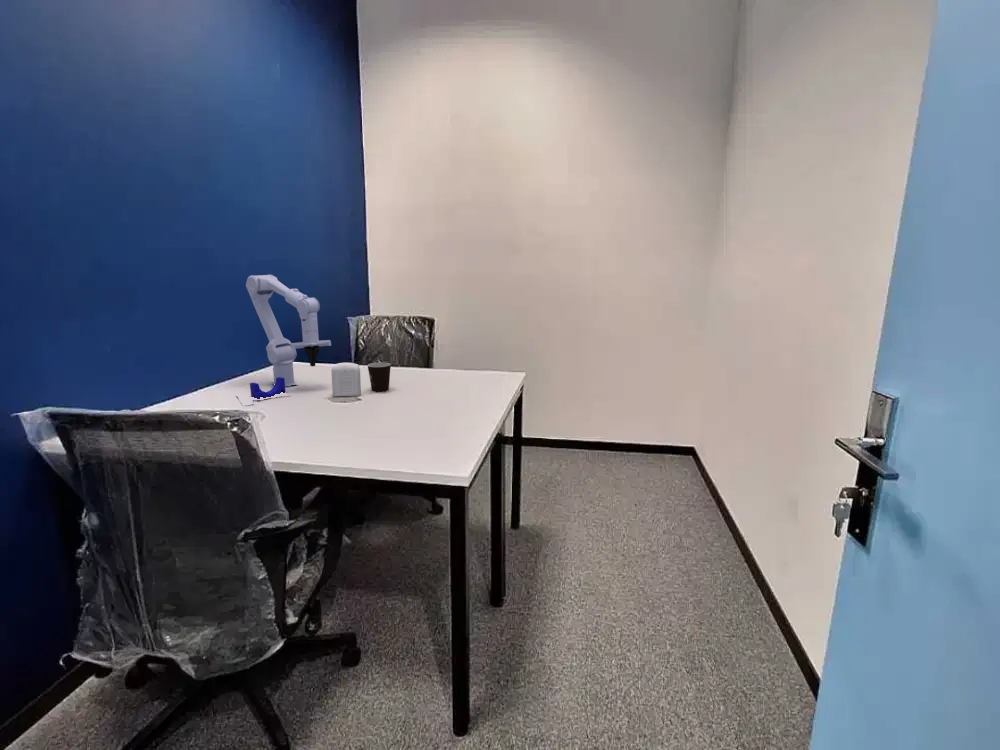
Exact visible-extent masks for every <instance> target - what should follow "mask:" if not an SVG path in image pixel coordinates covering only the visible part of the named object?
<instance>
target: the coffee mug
mask: <svg viewBox="0 0 1000 750" xmlns="http://www.w3.org/2000/svg"><path fill="white" fill-rule="evenodd" d="M391 364H392V363H389V362H373V363H368V364H367V371H368V375H369V376H368V377H369V382H370V388H371V391H372V393H385V392H388V391H389V390H390V382H391V381H390V380H391V379H390V377H391Z"/></svg>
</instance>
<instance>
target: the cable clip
mask: <svg viewBox="0 0 1000 750" xmlns="http://www.w3.org/2000/svg"><path fill="white" fill-rule="evenodd" d="M249 388H250V390H249V391H250V397H254V398H257V399H260V397H263V398H266V397H271V396H274V395H275V394H280V393H281V392H283V393H285V392H286V387H285V379H284V378H282V377H277V378H276V383H275V385H273V387H272V388H271V389H270V390H267V391H264V390H262V389H261V387H260V385H259V383H258V382H250V383H249ZM286 393H287V392H286Z"/></svg>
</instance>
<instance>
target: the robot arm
mask: <svg viewBox="0 0 1000 750" xmlns="http://www.w3.org/2000/svg"><path fill="white" fill-rule="evenodd" d="M245 287H246V290H247V292H248V294H249V296H250V297H249V298H250V300H251V301H252V304H253V307H254V308H255V311H256V314H257V315H258V318H259V320H260V323H261V325H262V327H263V329H264V332H265V334H266V337H267V339H268V344H267V345H266V346H265V350H266V353H267V359H268V361H269V363H271V365H272V371H273V372H272V374H273V381H272V382H271V384H272V383H274V384H275V383H276V378H277V377H282V378H284V379H285V386H288V387H292V386H291V385H296V386H298V384H297V383H296V381H295V375H294V362H295V360H296V358H297V354H298V353H297V350H296V349H302V350H303V352H305V354H306V357H307V358H308V361H309V364H310V365H309V366H310V367H316V364H317V363H316V362H317V359H318V354H319V352H320V350H321V349H320V348H321V347H327V346H328V347H331V346H332V341H331V340H330V339H327V340H320V339H319V337H320V336H319V325H318V312H320V308H321V305H320V302H319V300H318V299H317V298H316V297H313V296H312V297H308V295H307V294H304V293H302V292H300V291H299V289H298V288H289V287H288V286H286V285H284V284H283V283H282V282H280V281H279V280H278V277H277V276H274V275H273V274H266V275H265V274H263V275H261V274H258V275H249V276H248V277H247V279H246V283H245ZM274 292H275V293H276V294H278V295H280V296H282V297H284V299H285V302H287V304H289V305H292V306H293V307H294V308H296V311H297V313H298V314H299V318H300V321H301V323H300V324H301V333H302V341H301V342H300V341H299V342H291V341H290V340H289V339H288V338H285V337H284V336H283V334H282V331H281V328H280V326H279V324H278V321H277V319H276V317H275V315H274V312H273V311H272V310H273V309H272V308H271V305H270V303H269V299H270V298H272V296H273V294H274Z"/></svg>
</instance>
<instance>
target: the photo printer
mask: <svg viewBox="0 0 1000 750" xmlns="http://www.w3.org/2000/svg"><path fill="white" fill-rule="evenodd" d="M361 381H362V380H361V368H360V365H359V364H357V363H353V362H339V363H335V364H333V365H332V366H331V384H332V385H331V389H332V396H333V397H357V396H358V397H359V396H360V397H361V396H362V389H361V388H362V387H361Z"/></svg>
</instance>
